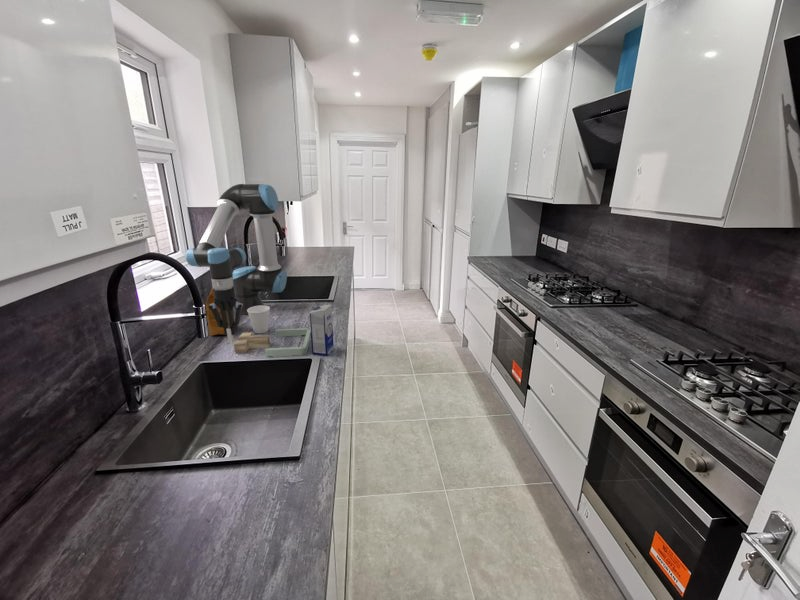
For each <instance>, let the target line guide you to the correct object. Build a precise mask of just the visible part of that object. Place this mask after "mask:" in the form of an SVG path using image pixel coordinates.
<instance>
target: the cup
mask: <svg viewBox="0 0 800 600" xmlns="http://www.w3.org/2000/svg"><path fill="white" fill-rule="evenodd" d="M270 309H271V307H270V306H268V305H264V306H262V305H261V306H254V307H250V308H248V309H247V312H248V314H247V315H248V317H249V321H250V323H251V327H252V330H253V332H254V333H255V334H258V333H259V334H260V333H261V334H265V333H266V332H268V331H269V323H270V322H269V321H270V319H269V318H270V311H271V310H270ZM261 334H260V335H261Z"/></svg>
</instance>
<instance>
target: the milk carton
mask: <svg viewBox="0 0 800 600" xmlns="http://www.w3.org/2000/svg"><path fill="white" fill-rule="evenodd" d="M332 305H333V304H323V305H321V306H320V304H318V305H315V306H313V307H312V310H311V311H310V312H308V318H309V328H310V333H311V339H310V344H311V345H310V346H311V348H310V349H311V355H312V354H313V355H314V356H322V357H328V356H329V355H330V354H331V353H332V352H333V350H334V349H335V347H334V344H335V342H334V330H333V329H334V326H333V325H334V324H333V308H332ZM313 355H312V356H313Z"/></svg>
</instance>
